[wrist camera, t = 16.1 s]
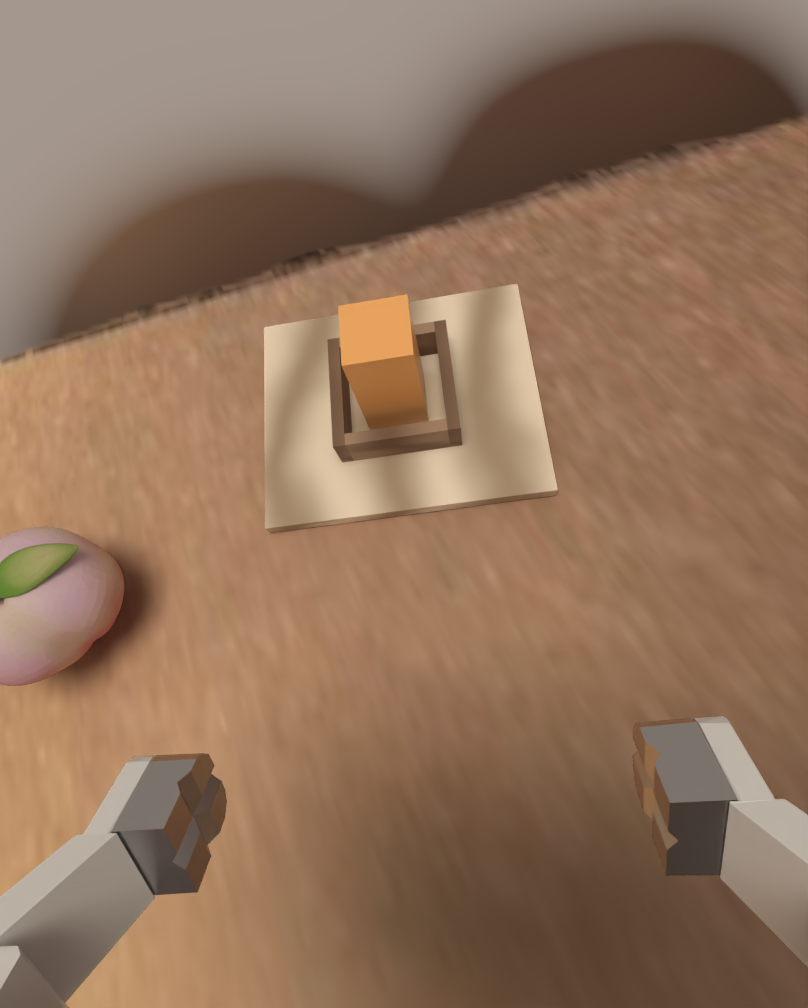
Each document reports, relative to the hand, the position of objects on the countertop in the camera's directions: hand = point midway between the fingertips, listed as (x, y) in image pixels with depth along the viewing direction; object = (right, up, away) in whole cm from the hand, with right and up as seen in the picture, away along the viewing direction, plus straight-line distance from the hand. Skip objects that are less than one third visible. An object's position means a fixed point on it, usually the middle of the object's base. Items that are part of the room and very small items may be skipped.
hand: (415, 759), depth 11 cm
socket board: (-1, +12, +29) cm, 31 cm away
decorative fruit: (-21, -2, +27) cm, 35 cm away
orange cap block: (-1, +12, +28) cm, 30 cm away
